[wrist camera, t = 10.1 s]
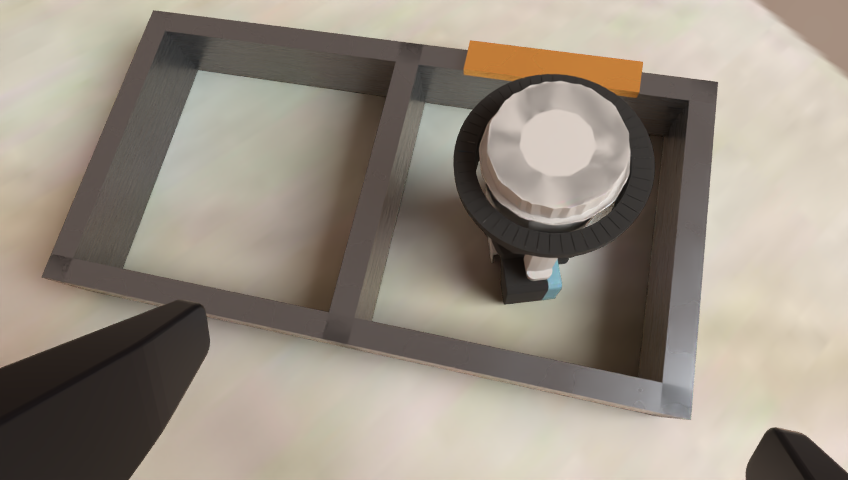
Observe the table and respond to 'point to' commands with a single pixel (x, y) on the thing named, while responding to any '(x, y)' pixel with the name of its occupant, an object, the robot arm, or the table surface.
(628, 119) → the push button
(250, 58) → the grey divided tray
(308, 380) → the table surface
